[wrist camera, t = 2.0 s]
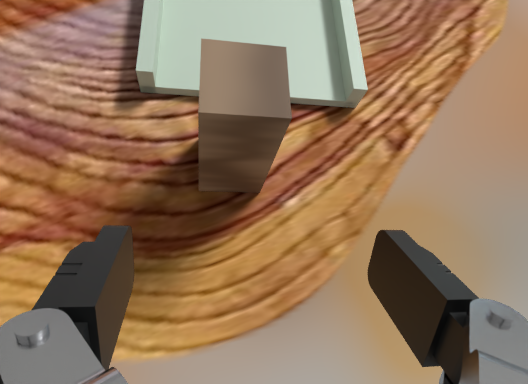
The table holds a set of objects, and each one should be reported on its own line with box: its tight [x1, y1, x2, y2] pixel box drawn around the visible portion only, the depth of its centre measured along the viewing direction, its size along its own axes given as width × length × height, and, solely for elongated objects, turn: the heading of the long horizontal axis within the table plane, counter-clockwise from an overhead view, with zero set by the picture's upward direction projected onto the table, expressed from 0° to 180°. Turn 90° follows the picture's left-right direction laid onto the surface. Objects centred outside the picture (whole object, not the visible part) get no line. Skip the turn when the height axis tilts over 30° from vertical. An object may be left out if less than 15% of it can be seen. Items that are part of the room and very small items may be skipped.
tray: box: [136, 0, 368, 108], centre depth 32 cm, size 18×18×2 cm
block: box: [199, 38, 292, 193], centre depth 22 cm, size 4×4×10 cm
